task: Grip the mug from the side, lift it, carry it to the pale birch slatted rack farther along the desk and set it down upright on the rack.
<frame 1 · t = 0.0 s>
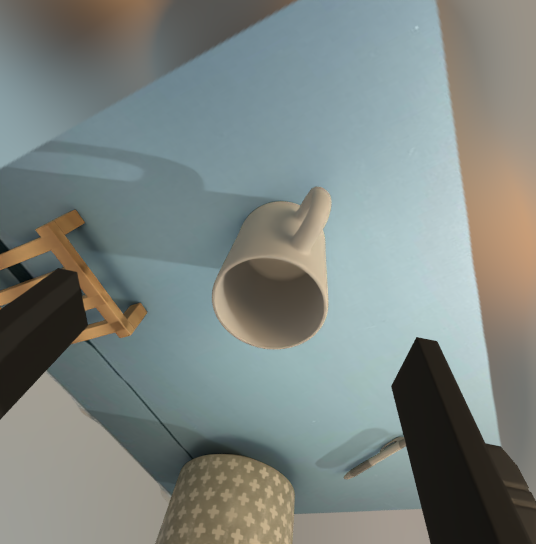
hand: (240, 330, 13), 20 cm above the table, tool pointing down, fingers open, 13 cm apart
rack: (62, 283, 39), on the table
mug: (290, 226, 31), on the table
planter: (240, 467, 55), on the table
pen: (373, 452, 48), on the table
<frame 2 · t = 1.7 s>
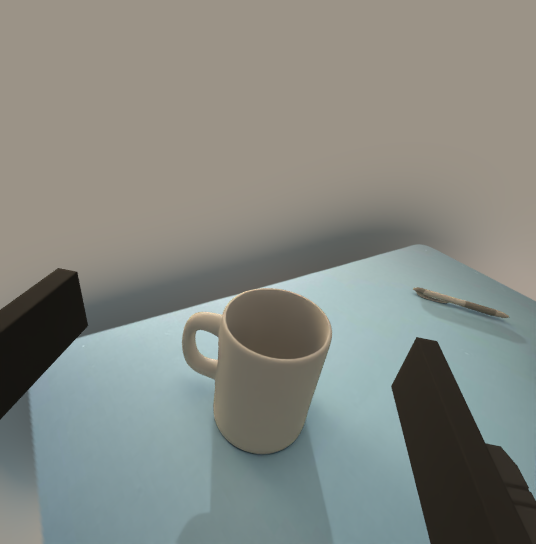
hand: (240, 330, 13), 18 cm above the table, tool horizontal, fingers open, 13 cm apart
mug: (241, 404, 30), on the table
pen: (456, 308, 50), on the table
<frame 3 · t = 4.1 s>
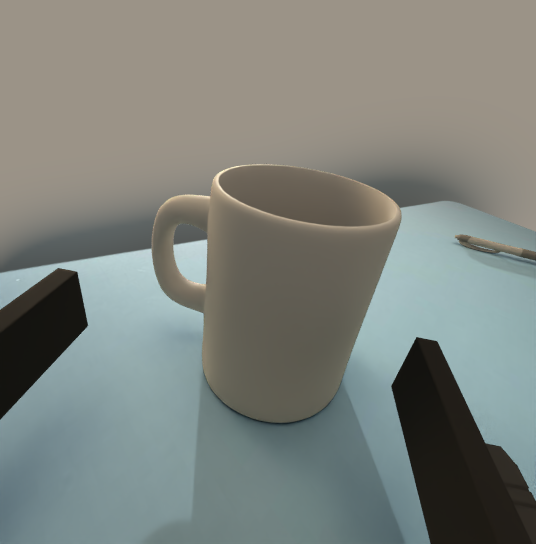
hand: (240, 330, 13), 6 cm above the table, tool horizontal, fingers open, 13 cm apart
mug: (244, 356, 20), on the table
pen: (509, 258, 40), on the table
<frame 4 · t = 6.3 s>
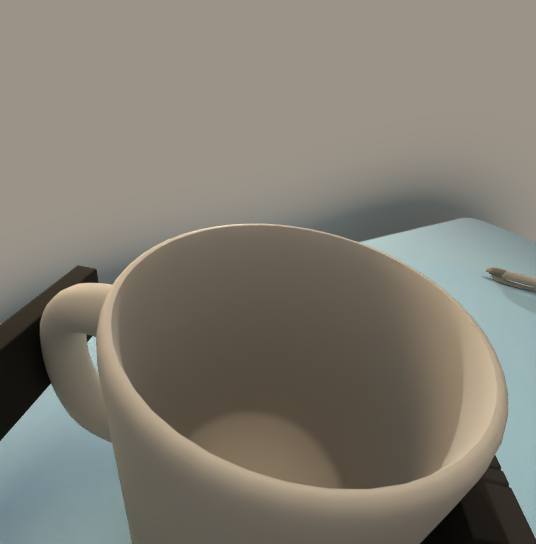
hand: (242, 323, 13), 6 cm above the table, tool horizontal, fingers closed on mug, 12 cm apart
mug: (209, 502, 13), on the table, touching gripper
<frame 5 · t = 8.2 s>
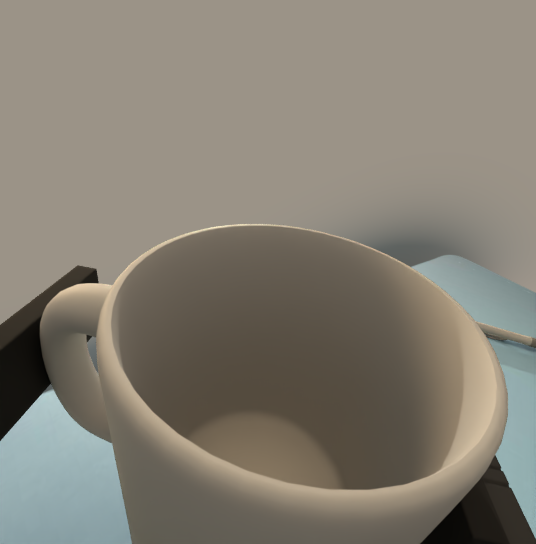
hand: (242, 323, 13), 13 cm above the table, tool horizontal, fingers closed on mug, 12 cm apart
mug: (209, 502, 13), point 7 cm above the table, touching gripper
pen: (517, 346, 37), on the table
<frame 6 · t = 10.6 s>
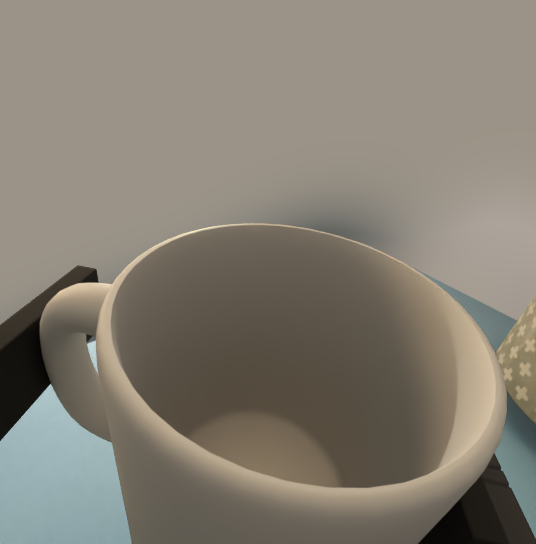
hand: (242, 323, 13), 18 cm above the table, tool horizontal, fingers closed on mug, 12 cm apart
mug: (209, 502, 13), point 12 cm above the table, touching gripper
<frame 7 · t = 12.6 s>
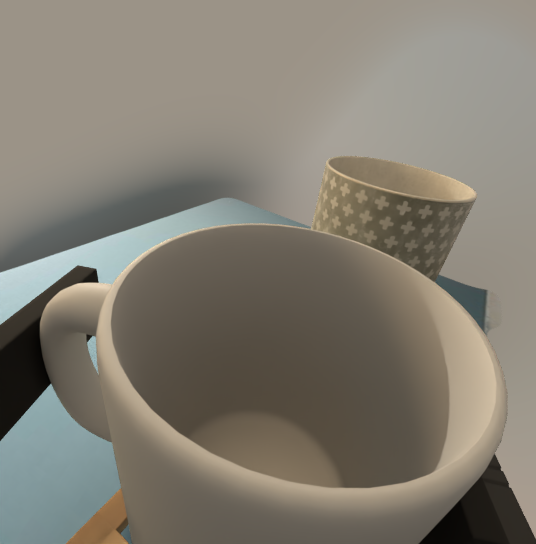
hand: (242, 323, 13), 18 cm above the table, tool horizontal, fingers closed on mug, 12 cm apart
mug: (209, 502, 13), point 11 cm above the table, touching gripper
planter: (358, 288, 51), on the table
when the fingers open (11 cm above the table, at t = 16.0 s): mug stays where it is, resting on rack.
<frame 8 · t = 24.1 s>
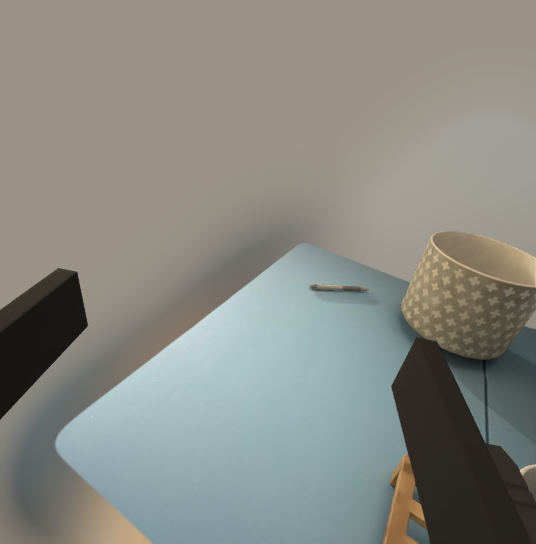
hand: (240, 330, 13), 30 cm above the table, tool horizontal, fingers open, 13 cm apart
planter: (443, 334, 64), on the table
pen: (338, 291, 72), on the table
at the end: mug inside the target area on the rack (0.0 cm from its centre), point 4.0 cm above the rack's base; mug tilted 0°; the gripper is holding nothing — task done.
